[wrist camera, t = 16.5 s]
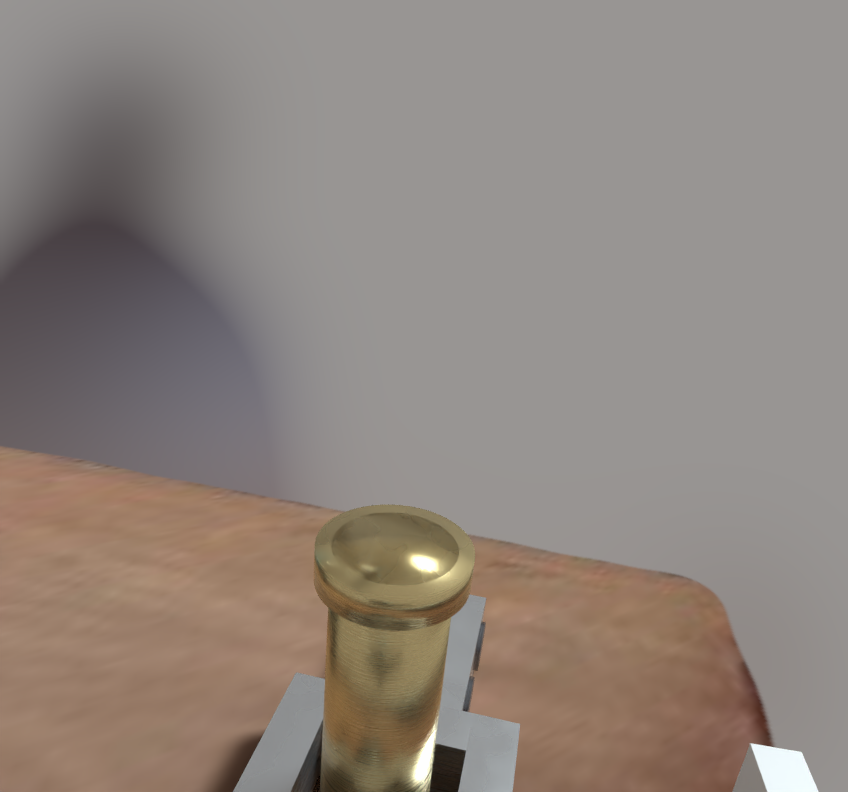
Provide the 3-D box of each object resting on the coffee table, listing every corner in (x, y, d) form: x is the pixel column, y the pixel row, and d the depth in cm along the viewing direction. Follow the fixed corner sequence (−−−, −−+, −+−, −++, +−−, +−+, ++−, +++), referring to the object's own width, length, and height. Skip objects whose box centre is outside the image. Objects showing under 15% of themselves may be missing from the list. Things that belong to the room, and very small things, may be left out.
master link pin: (286, 824, 29) (292, 520, 24) (399, 780, 31) (427, 494, 26) (331, 947, 25) (352, 613, 19) (458, 886, 27) (506, 573, 22)
